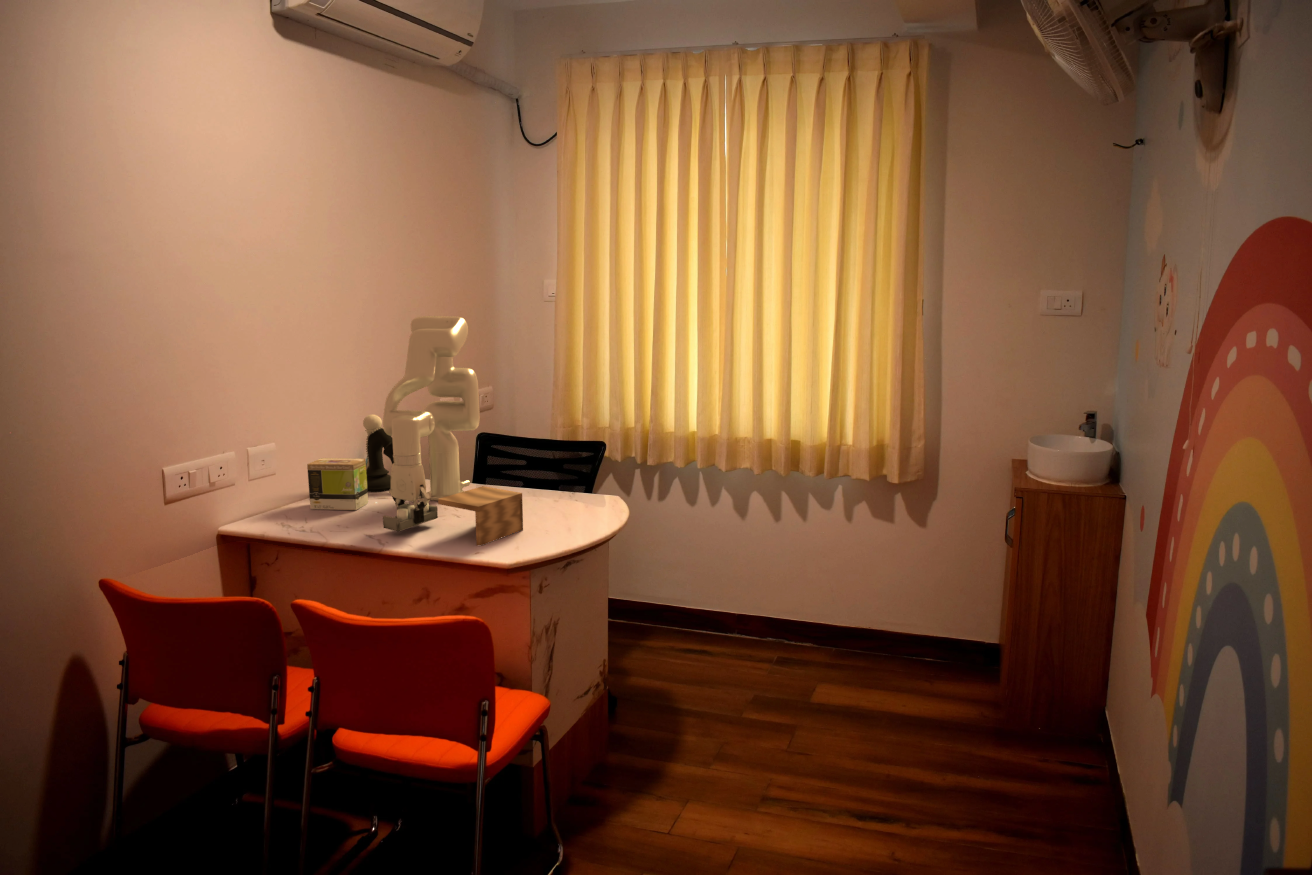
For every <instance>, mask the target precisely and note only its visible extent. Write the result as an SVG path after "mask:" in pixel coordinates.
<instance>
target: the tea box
mask: <svg viewBox="0 0 1312 875" xmlns="http://www.w3.org/2000/svg"><path fill="white" fill-rule="evenodd" d="M366 465H367V461H366V458H350V457H349V458H341V457H340V458H339V457H338V458H336V457H332V458H331V457H329V458H328V457H325V458H324V457H323V458H319V459H316V460H314V461H311V462H310V463H307V465H306V466H307V467H306V469H307V480H308V482H307V483H308V494H309V495H308V496H309V506H310V510H328V511H329V510H333V511H334V510H336V511H337V510H339V511H340V510H341V511H357V510H359V509H362V507H364V506H366V505H367V504H368V503H369V492H368V489H367V475H366Z"/></svg>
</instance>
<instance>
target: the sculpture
mask: <svg viewBox="0 0 1312 875" xmlns="http://www.w3.org/2000/svg"><path fill="white" fill-rule="evenodd" d="M362 425H363V427H364V429H365V432H366V433H367V436H366V444H365V445H366V446H365V447H366V448H365V450H366V455H367V456H366V457H367V461H366V475H367V489H368V493H383V492H389V490H390V489H391V474H389V473H390V471H389V470H387V469H386V468H385V465H384V458H383V455H384V456H386V457H387V458H389V460H390V462H391V465H392V464H393V463H394V457H393V439H392V436H390V435H388V434H386V433H385V431H384V428H383V419H382V418H381V417H380V416H379V415H377V414H368V415H367V416H365V417H364V419H363V421H362Z"/></svg>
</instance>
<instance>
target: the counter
mask: <svg viewBox="0 0 1312 875" xmlns="http://www.w3.org/2000/svg"><path fill="white" fill-rule="evenodd" d="M463 491H464V492H461V493H457V494H454V495H450V496H447V497H443V498H440V499H438V501H437V504H438V505H439V506H445V507H452V508H456V509H462V510H466V511H471V512H474V515H475V540H476V544H475V545H476V546H478V545H481V546H484V545H486V543H487V544H489V543H491V541H492V542H494V541H493V540H495V541H497V540H499V538H500V539H502V538H501V537H503V538H505V537H504V536H506V537H508V536H511V535H513V534H512V533H514V534H516V533H515V532H517V533H519V532H521V531H520V530H522V531H523V530H524V514H523V513H524V512H523V507H524V506H523V492H518V491H513V490H508V489H507V490H506V489H502V488H496V487H490V486H485V485H483V486H478V487H475V488H472V489H468V490H463ZM518 531H519V532H518ZM510 534H511V535H510ZM507 535H508V536H507ZM496 539H497V540H496ZM488 542H489V543H488ZM483 544H484V545H483Z"/></svg>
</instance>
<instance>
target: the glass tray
mask: <svg viewBox="0 0 1312 875" xmlns="http://www.w3.org/2000/svg"><path fill="white" fill-rule="evenodd" d="M419 504H420V502H419V501H418V505H419ZM397 508H398V510H397ZM414 510H416V509H415V507H414V504H411V503H410V502H407V503H406V502H405V504H403V505H400V506H396V516H389V515H382V527H383V529H386V530H391V531H394V532H401V531H404V530H407V529H410V528H412V527H416V526H418V525H422V524H425V523H427V522H430V521H433V520H436V519H438V518H439V516H438V506H436V505H432V504H429V502H428V503H427V505H426V506H425V508H424V522H421V523H418V524H415V523H414Z"/></svg>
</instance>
